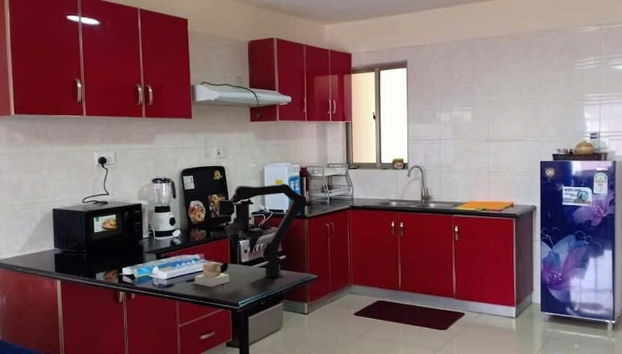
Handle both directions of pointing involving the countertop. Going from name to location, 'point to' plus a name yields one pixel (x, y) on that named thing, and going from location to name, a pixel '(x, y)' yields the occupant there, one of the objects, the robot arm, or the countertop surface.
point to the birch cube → (211, 269)
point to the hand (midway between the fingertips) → (243, 251)
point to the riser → (212, 280)
